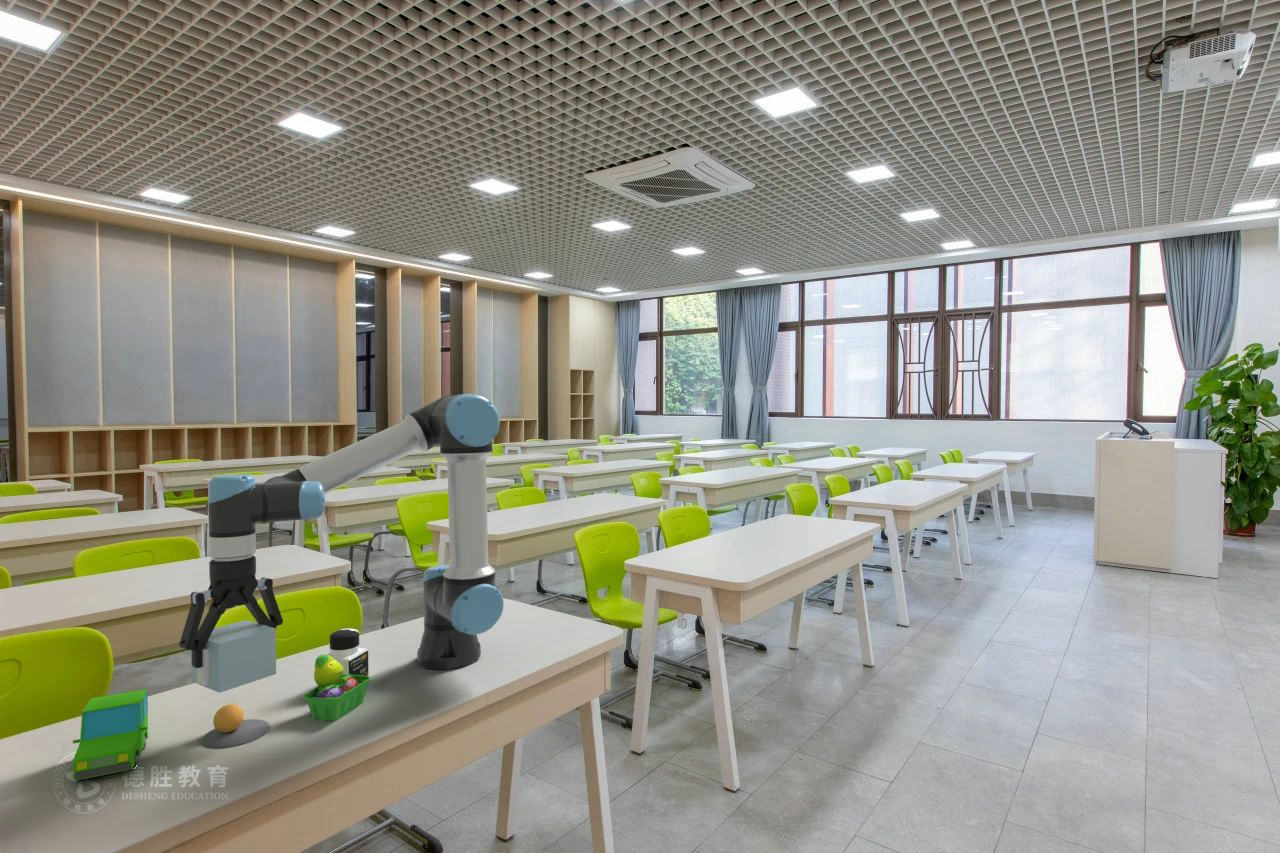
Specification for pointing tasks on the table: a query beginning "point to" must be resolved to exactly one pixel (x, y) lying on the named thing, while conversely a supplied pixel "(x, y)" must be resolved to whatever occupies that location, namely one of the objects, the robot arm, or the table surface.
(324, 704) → the fruit basket
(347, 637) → the medicine bottle
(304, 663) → the table surface
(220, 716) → the ball
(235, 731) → the disc
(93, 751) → the toy car
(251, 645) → the pale blue cube
